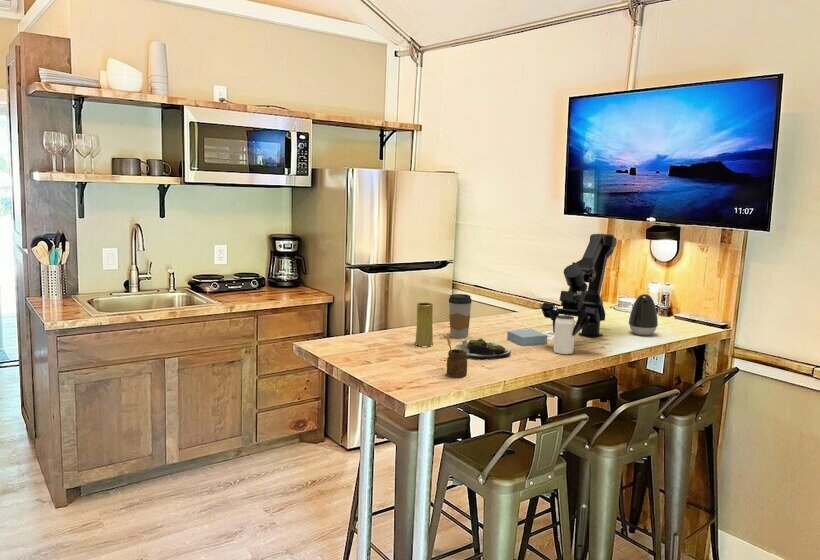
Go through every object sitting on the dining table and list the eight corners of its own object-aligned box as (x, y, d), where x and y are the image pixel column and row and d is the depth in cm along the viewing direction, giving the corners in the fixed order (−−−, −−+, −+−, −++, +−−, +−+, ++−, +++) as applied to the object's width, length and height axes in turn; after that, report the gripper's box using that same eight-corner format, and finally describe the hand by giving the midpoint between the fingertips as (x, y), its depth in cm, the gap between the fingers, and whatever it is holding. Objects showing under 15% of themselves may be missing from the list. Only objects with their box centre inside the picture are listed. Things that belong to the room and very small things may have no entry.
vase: (412, 345, 219) (413, 304, 217) (418, 341, 225) (419, 301, 223) (429, 347, 217) (430, 306, 215) (435, 343, 223) (436, 303, 221)
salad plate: (442, 347, 219) (442, 334, 218) (488, 343, 226) (489, 330, 225) (466, 362, 201) (467, 348, 201) (517, 358, 208) (517, 344, 207)
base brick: (530, 337, 234) (531, 329, 234) (547, 343, 225) (547, 335, 225) (507, 339, 231) (507, 331, 230) (522, 346, 221) (522, 337, 221)
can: (565, 356, 210) (567, 319, 208) (549, 352, 214) (551, 316, 212) (577, 352, 214) (579, 317, 212) (561, 348, 219) (562, 314, 217)
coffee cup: (472, 334, 236) (473, 294, 234) (468, 340, 228) (469, 298, 226) (450, 333, 239) (451, 293, 236) (445, 338, 231) (446, 296, 228)
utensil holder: (463, 378, 184) (464, 337, 182) (442, 376, 186) (443, 335, 184) (469, 373, 189) (470, 333, 187) (449, 370, 191) (450, 331, 190)
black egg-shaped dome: (628, 336, 238) (631, 295, 236) (627, 330, 248) (630, 291, 246) (658, 338, 236) (661, 297, 233) (655, 332, 246) (658, 292, 243)
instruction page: (548, 330, 245) (548, 330, 245) (569, 334, 239) (569, 334, 239) (531, 336, 236) (531, 335, 236) (553, 340, 230) (553, 339, 230)
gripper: (544, 278, 219) (530, 316, 211) (599, 284, 209) (587, 323, 201) (551, 298, 226) (538, 335, 219) (604, 304, 217) (593, 343, 209)
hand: (563, 333), depth 212 cm, fingers closed on can, 6 cm apart
